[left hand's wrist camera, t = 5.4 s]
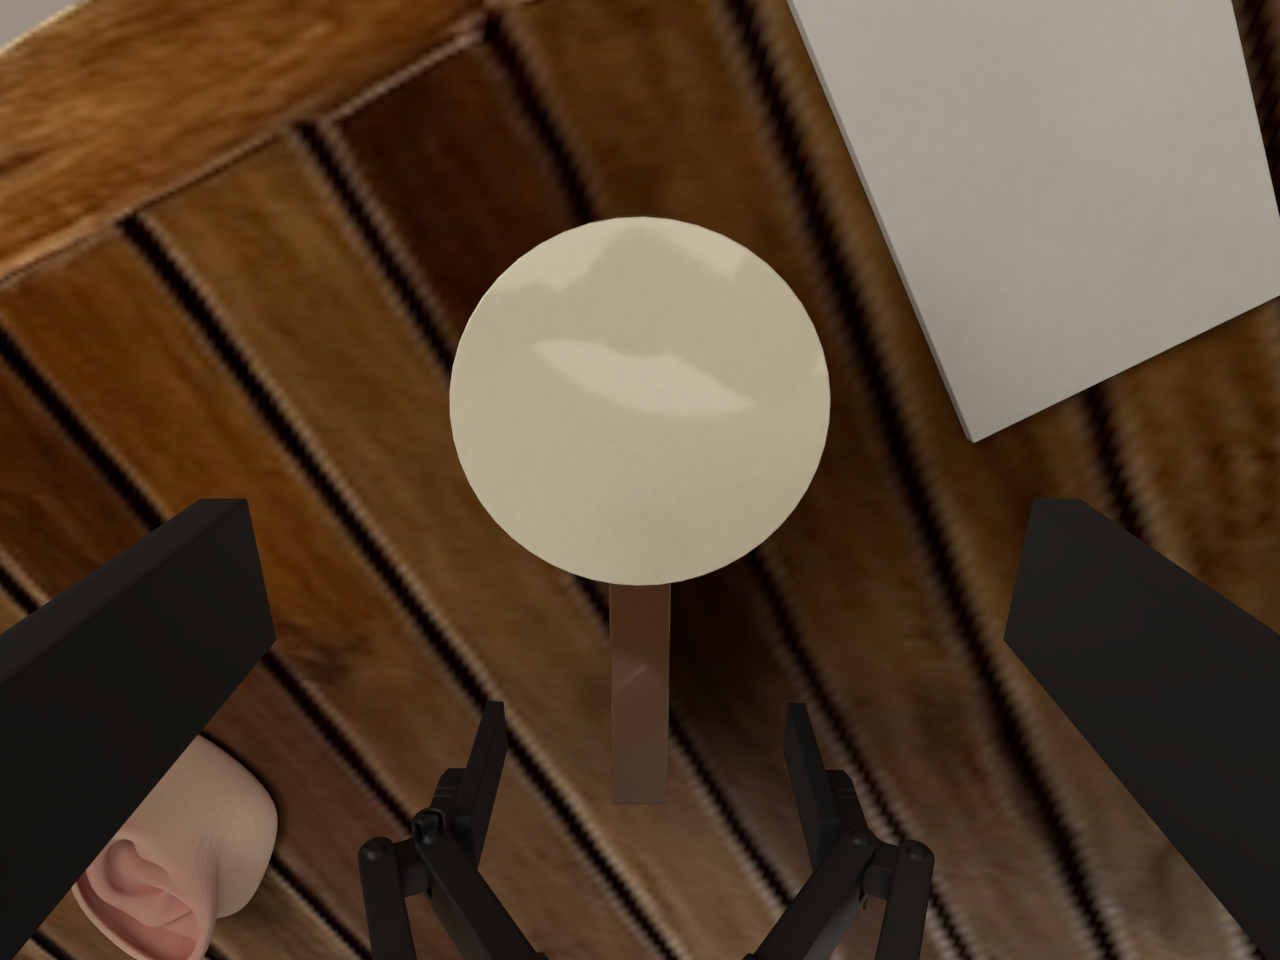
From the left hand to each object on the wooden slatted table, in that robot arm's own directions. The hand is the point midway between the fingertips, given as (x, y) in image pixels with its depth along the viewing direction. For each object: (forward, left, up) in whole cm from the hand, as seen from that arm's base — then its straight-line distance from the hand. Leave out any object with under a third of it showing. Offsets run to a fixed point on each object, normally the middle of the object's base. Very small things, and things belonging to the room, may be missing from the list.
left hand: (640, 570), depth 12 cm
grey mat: (-1, -18, -21) cm, 27 cm away
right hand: (-15, +8, -16) cm, 23 cm away
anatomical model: (-11, +36, -21) cm, 43 cm away
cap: (0, 0, -13) cm, 13 cm away
